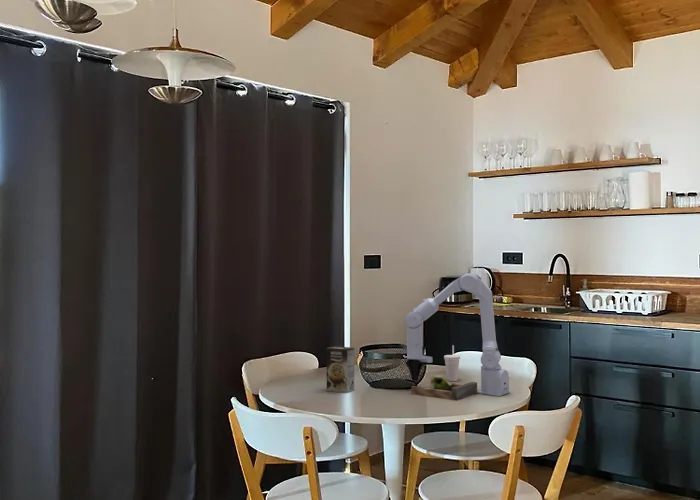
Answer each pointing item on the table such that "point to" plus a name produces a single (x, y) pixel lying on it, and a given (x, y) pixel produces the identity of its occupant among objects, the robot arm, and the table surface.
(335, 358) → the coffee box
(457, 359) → the smoothie
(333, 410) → the table surface
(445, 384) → the fruit
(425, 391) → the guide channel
